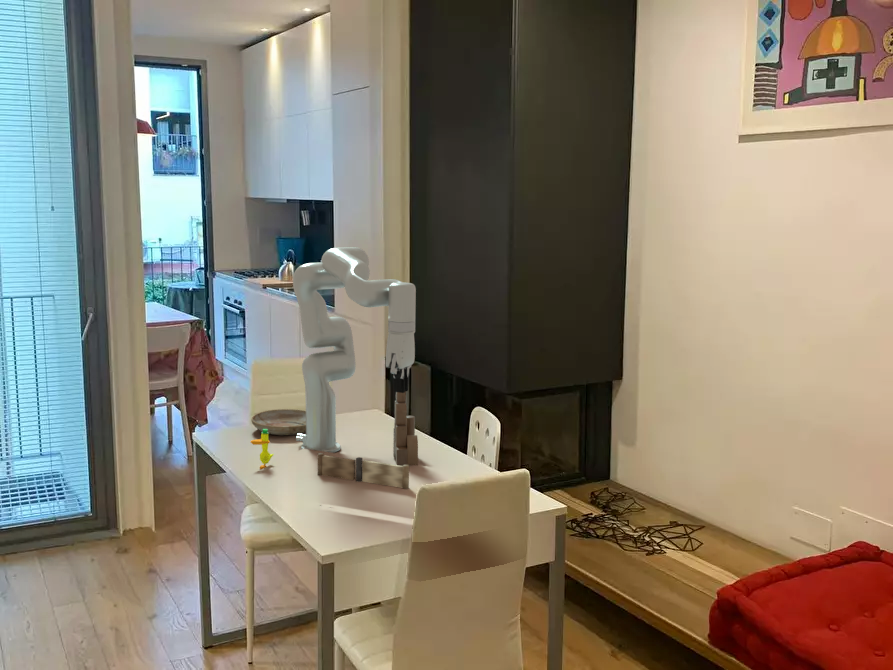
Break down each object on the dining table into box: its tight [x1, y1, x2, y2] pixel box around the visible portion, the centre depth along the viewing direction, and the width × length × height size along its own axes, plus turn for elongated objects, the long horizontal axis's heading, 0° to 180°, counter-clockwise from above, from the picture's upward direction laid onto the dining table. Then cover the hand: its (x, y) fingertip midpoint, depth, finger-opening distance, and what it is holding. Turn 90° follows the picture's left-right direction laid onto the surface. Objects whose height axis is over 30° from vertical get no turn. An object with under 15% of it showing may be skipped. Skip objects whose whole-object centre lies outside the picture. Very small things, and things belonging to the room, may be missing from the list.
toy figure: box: [250, 429, 275, 470], centre depth 261 cm, size 7×4×12 cm, turn 99°
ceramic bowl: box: [251, 408, 306, 436], centre depth 302 cm, size 23×24×5 cm
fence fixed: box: [317, 452, 363, 483], centre depth 250 cm, size 14×2×7 cm, turn 68°
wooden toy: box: [392, 391, 419, 466], centre depth 268 cm, size 16×7×25 cm, turn 8°
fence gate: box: [361, 459, 410, 490], centre depth 245 cm, size 14×2×6 cm, turn 68°
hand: (401, 391), depth 246 cm, fingers closed
